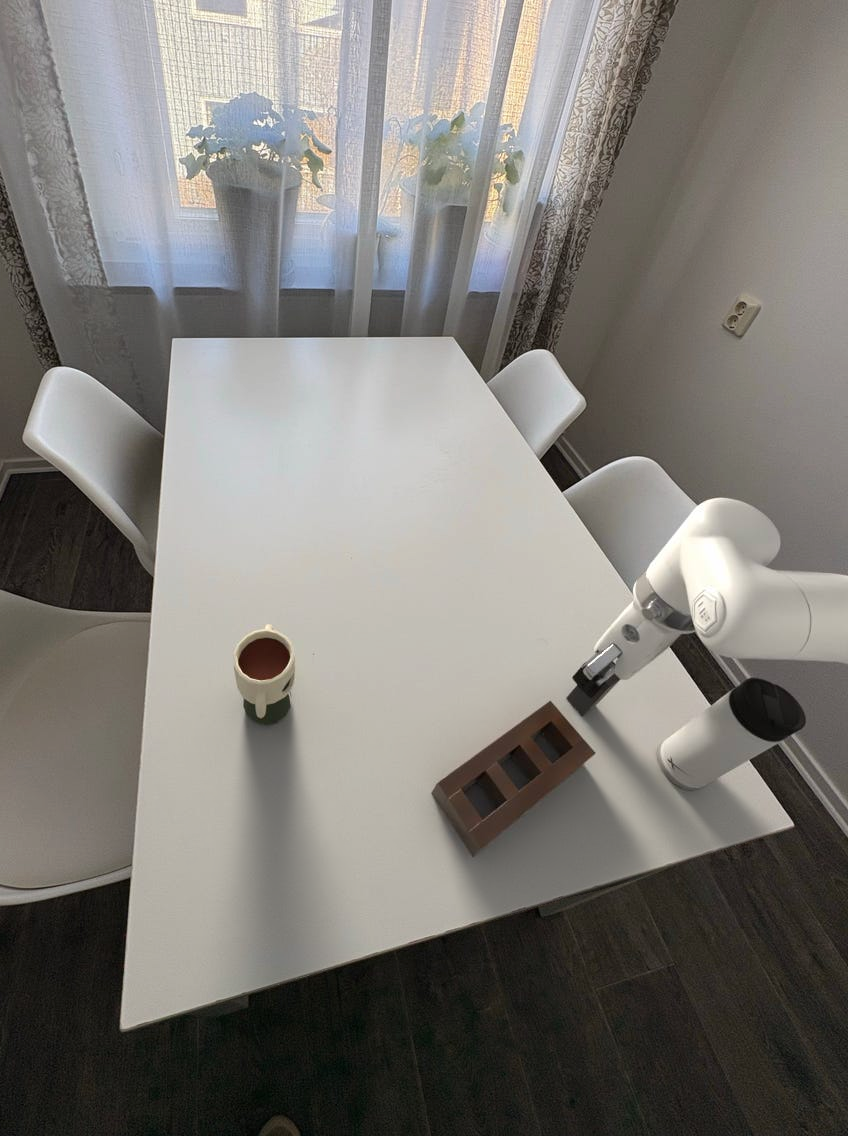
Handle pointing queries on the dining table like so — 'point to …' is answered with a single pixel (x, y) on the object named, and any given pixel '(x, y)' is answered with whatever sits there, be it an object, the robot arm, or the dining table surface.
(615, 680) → the peg
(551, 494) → the dining table surface
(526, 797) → the holder
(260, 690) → the character mug
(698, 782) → the travel mug
